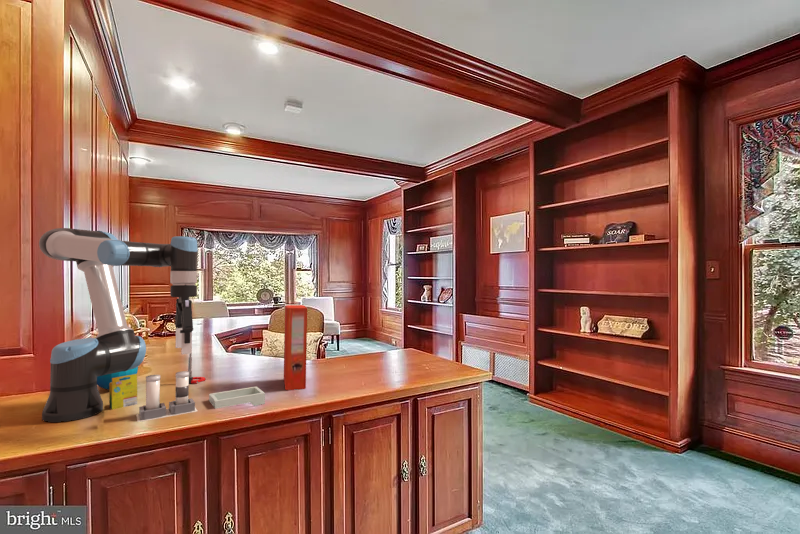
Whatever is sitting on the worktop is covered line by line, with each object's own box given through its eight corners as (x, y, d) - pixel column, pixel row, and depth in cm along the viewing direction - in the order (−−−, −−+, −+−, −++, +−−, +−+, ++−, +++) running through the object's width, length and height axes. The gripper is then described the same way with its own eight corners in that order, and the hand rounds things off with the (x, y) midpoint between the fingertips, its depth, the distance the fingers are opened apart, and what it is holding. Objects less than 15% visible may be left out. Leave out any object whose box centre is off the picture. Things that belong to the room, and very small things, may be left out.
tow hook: (189, 379, 172) (177, 384, 162) (190, 349, 172) (179, 352, 163) (208, 379, 172) (198, 384, 163) (210, 349, 173) (199, 352, 163)
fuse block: (137, 427, 116) (137, 413, 116) (136, 419, 123) (136, 406, 123) (197, 415, 126) (198, 403, 126) (193, 409, 132) (193, 397, 132)
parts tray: (215, 413, 128) (215, 401, 128) (208, 405, 136) (209, 393, 136) (264, 403, 138) (264, 392, 138) (256, 396, 146) (256, 386, 146)
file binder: (302, 378, 173) (303, 304, 173) (306, 388, 156) (307, 307, 157) (283, 379, 170) (284, 305, 171) (285, 390, 154) (286, 308, 154)
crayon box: (134, 406, 134) (135, 372, 135) (137, 408, 132) (138, 373, 133) (108, 412, 129) (109, 376, 129) (111, 414, 127) (112, 378, 127)
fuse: (145, 418, 119) (146, 378, 119) (144, 414, 122) (145, 375, 122) (160, 415, 121) (160, 376, 122) (159, 412, 124) (159, 374, 125)
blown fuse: (175, 413, 124) (176, 374, 124) (174, 409, 127) (174, 372, 127) (189, 410, 126) (190, 372, 126) (187, 407, 129) (188, 370, 129)
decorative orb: (82, 391, 152) (83, 352, 152) (125, 382, 165) (125, 346, 166) (103, 396, 145) (104, 355, 145) (145, 386, 158) (146, 349, 159)
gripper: (204, 284, 120) (203, 355, 119) (190, 283, 140) (190, 344, 139) (175, 285, 115) (175, 358, 115) (166, 284, 135) (165, 346, 135)
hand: (183, 350), depth 127 cm, fingers open, 13 cm apart
